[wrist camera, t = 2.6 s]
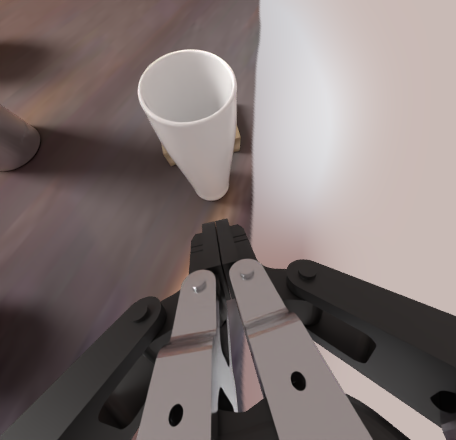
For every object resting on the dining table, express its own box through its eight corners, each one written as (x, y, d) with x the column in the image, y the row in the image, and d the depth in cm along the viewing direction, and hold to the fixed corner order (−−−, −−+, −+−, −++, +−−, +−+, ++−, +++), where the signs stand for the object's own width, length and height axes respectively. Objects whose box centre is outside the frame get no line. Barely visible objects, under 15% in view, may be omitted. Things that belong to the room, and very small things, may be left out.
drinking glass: (225, 160, 26) (218, 37, 12) (240, 197, 25) (254, 107, 10) (184, 174, 26) (125, 62, 11) (197, 212, 24) (148, 140, 10)
